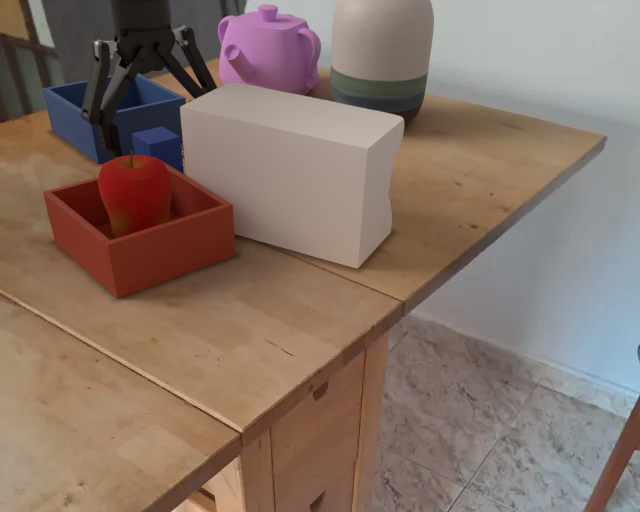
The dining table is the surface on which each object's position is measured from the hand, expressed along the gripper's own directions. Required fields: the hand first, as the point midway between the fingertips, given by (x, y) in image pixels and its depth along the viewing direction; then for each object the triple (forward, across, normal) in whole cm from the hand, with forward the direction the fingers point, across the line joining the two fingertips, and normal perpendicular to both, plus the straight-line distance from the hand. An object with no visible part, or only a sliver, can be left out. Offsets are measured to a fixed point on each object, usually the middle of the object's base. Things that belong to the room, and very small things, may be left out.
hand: (160, 159), depth 100 cm
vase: (+4, -45, -1) cm, 45 cm away
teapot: (+4, -38, -25) cm, 46 cm away
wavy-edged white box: (+4, -10, +21) cm, 23 cm away
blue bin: (+3, -4, -20) cm, 21 cm away
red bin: (+4, +12, +16) cm, 20 cm away
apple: (+3, +12, +16) cm, 20 cm away
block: (+4, 0, 0) cm, 4 cm away
